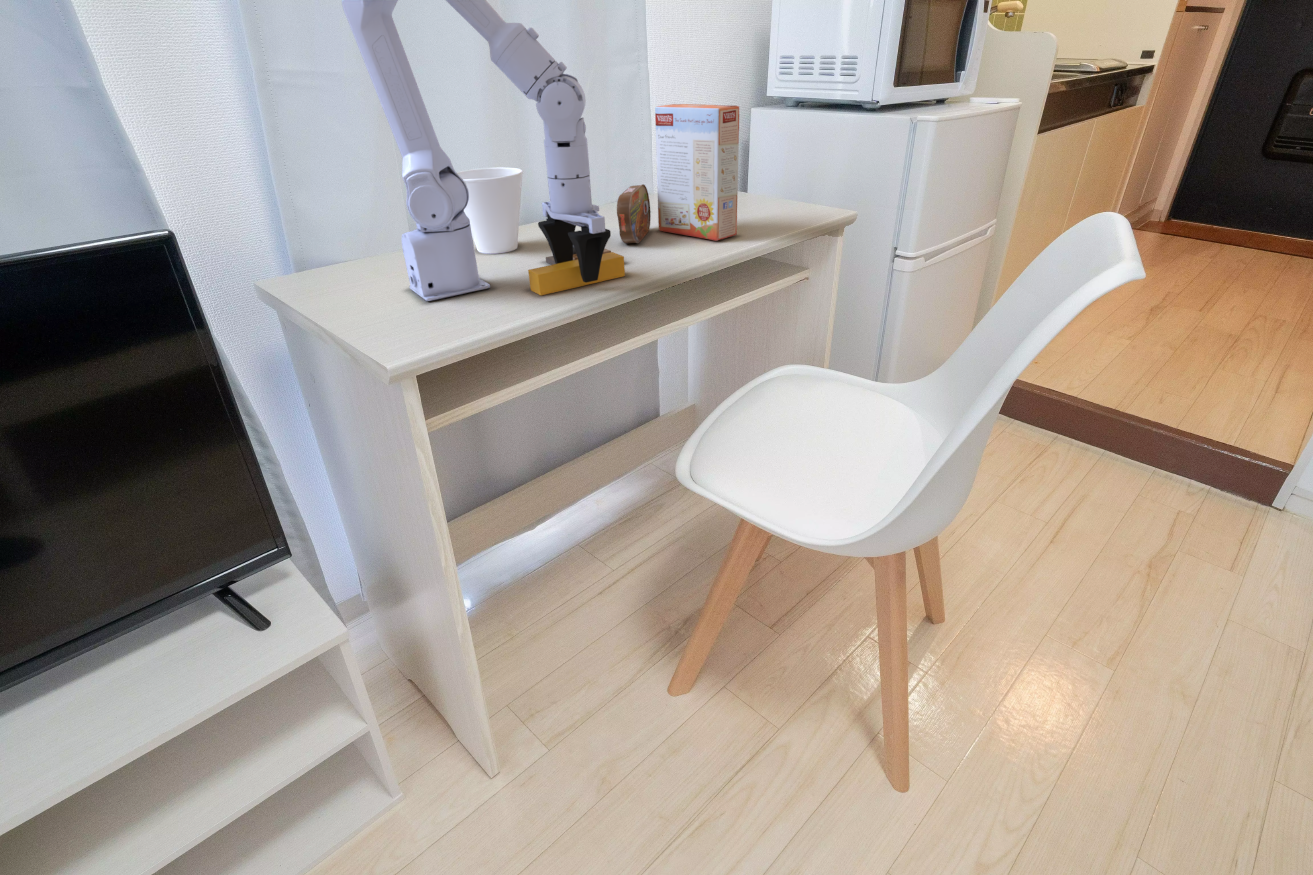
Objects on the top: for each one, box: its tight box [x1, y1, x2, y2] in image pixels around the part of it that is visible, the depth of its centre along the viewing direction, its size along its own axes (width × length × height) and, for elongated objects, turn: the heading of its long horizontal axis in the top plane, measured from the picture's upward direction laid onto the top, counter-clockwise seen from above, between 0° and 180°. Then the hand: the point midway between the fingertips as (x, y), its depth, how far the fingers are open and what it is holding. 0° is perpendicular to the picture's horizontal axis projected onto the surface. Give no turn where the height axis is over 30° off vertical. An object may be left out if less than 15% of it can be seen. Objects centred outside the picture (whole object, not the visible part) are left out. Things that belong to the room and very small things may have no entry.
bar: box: [527, 251, 626, 296], centre depth 101 cm, size 14×3×3 cm, turn 125°
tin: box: [616, 184, 651, 244], centre depth 122 cm, size 15×3×8 cm, turn 168°
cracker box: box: [654, 103, 740, 242], centre depth 120 cm, size 14×6×21 cm, turn 46°
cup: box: [456, 166, 524, 255], centre depth 117 cm, size 12×12×12 cm
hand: (577, 274), depth 101 cm, fingers open, 7 cm apart
